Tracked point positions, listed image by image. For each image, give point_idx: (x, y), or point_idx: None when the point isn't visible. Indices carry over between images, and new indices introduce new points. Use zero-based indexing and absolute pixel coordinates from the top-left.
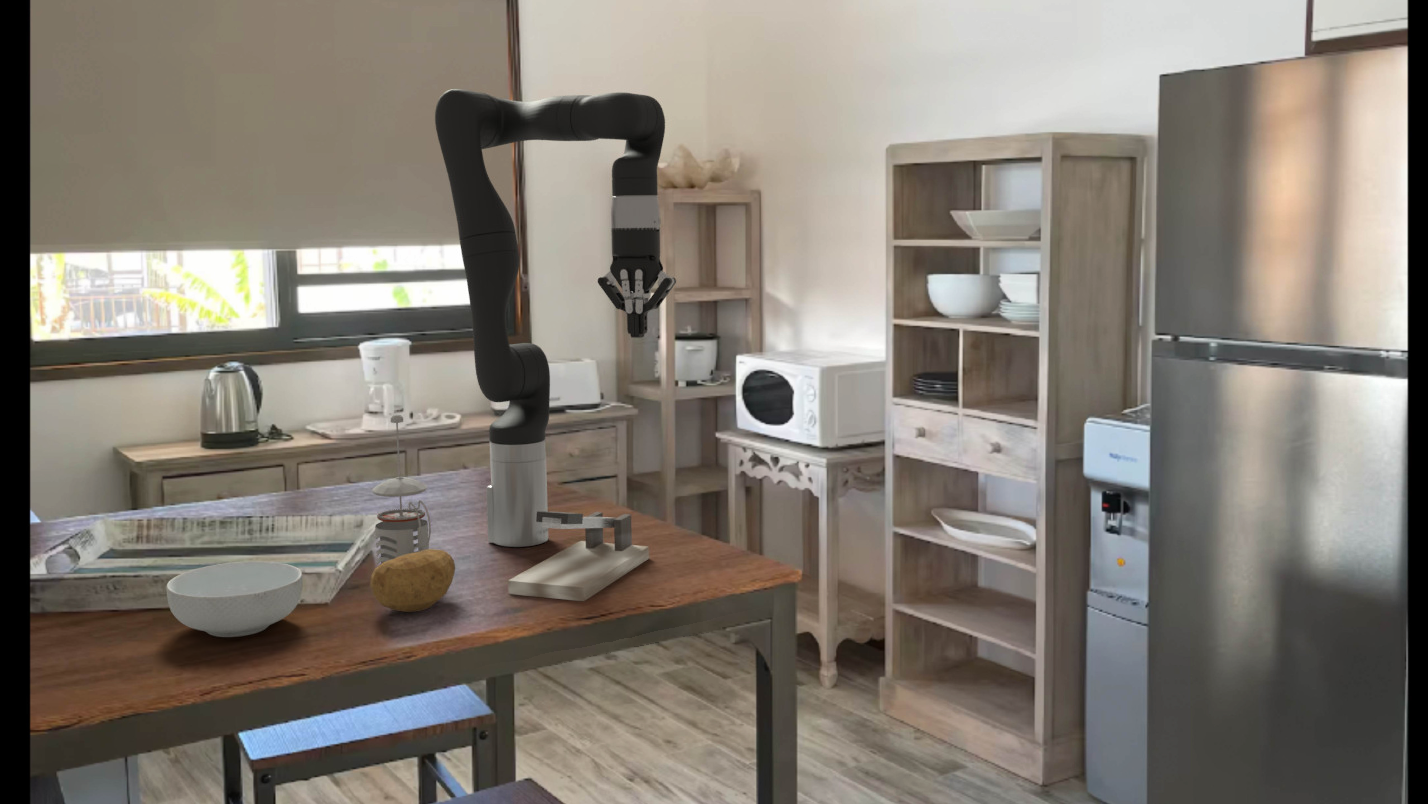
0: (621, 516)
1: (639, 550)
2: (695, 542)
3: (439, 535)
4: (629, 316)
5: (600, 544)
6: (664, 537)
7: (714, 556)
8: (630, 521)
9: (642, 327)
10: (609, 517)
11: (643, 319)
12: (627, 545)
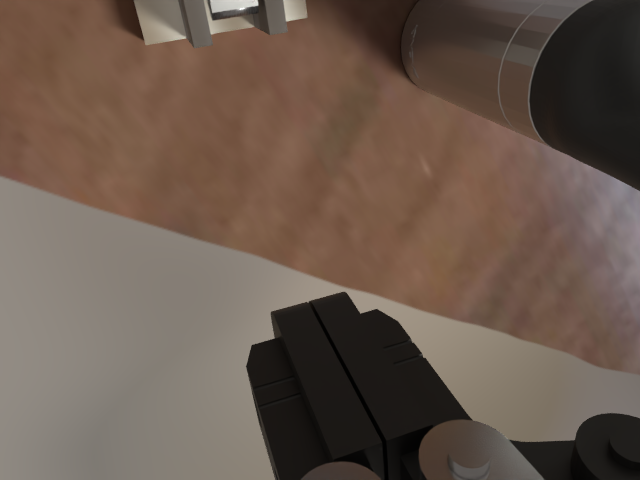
0: (203, 17)
1: (140, 2)
2: (143, 197)
3: None
4: (438, 418)
5: None
6: (220, 197)
7: (32, 126)
8: (191, 40)
9: (265, 382)
10: (230, 4)
11: (272, 447)
12: (181, 12)
